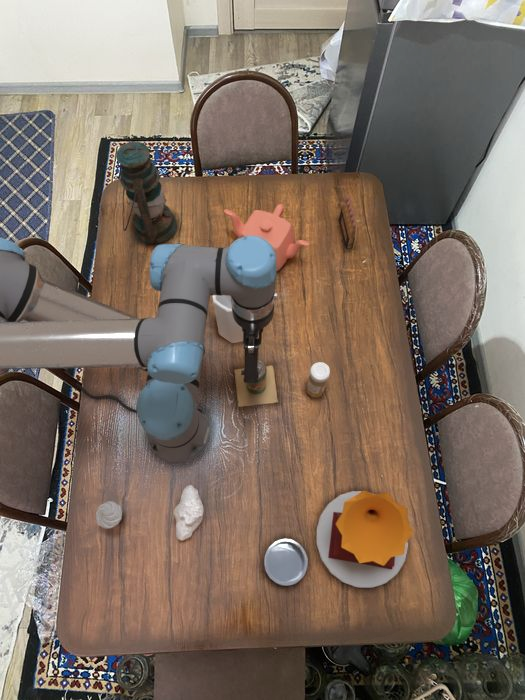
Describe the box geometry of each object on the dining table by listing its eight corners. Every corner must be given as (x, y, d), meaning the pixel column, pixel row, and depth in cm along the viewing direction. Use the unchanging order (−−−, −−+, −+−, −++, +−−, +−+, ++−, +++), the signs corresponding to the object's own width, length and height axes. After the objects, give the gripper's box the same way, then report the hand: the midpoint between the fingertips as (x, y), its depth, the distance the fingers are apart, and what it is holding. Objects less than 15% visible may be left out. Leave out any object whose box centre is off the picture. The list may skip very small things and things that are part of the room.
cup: (211, 338, 137) (204, 306, 120) (222, 302, 141) (217, 265, 124) (252, 348, 136) (251, 316, 119) (262, 311, 140) (262, 275, 123)
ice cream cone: (120, 501, 121) (102, 492, 107) (138, 517, 119) (122, 510, 105) (103, 520, 119) (82, 514, 105) (120, 537, 118) (102, 533, 104)
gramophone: (321, 484, 122) (335, 465, 99) (408, 500, 121) (443, 483, 98) (309, 578, 114) (321, 580, 91) (402, 595, 113) (439, 602, 90)
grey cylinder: (263, 583, 114) (263, 584, 108) (265, 539, 118) (265, 537, 112) (304, 586, 114) (307, 586, 108) (305, 541, 117) (308, 540, 112)
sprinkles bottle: (327, 391, 131) (334, 373, 119) (312, 401, 130) (318, 383, 118) (316, 377, 133) (322, 357, 120) (302, 386, 132) (306, 367, 119)
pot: (242, 284, 143) (241, 260, 132) (226, 234, 150) (223, 206, 138) (306, 268, 146) (310, 242, 134) (287, 219, 152) (289, 190, 141)
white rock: (188, 542, 119) (214, 544, 111) (158, 538, 115) (184, 539, 107) (196, 489, 124) (222, 487, 115) (168, 483, 120) (193, 480, 111)
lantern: (179, 253, 147) (160, 180, 120) (128, 257, 147) (97, 185, 119) (175, 198, 155) (157, 117, 127) (127, 202, 154) (98, 122, 127)
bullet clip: (338, 219, 152) (344, 191, 141) (344, 218, 152) (351, 190, 141) (345, 249, 148) (352, 223, 137) (352, 248, 148) (359, 223, 137)
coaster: (238, 407, 130) (238, 406, 129) (234, 370, 134) (234, 369, 133) (277, 402, 130) (277, 402, 130) (272, 365, 134) (272, 365, 134)
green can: (269, 382, 132) (270, 365, 121) (259, 398, 130) (259, 382, 119) (252, 372, 133) (252, 355, 122) (242, 389, 131) (240, 372, 120)
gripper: (270, 370, 86) (268, 407, 105) (277, 243, 95) (274, 299, 115) (225, 368, 86) (231, 405, 105) (236, 241, 95) (240, 297, 115)
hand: (253, 350), depth 110 cm, fingers open, 13 cm apart
